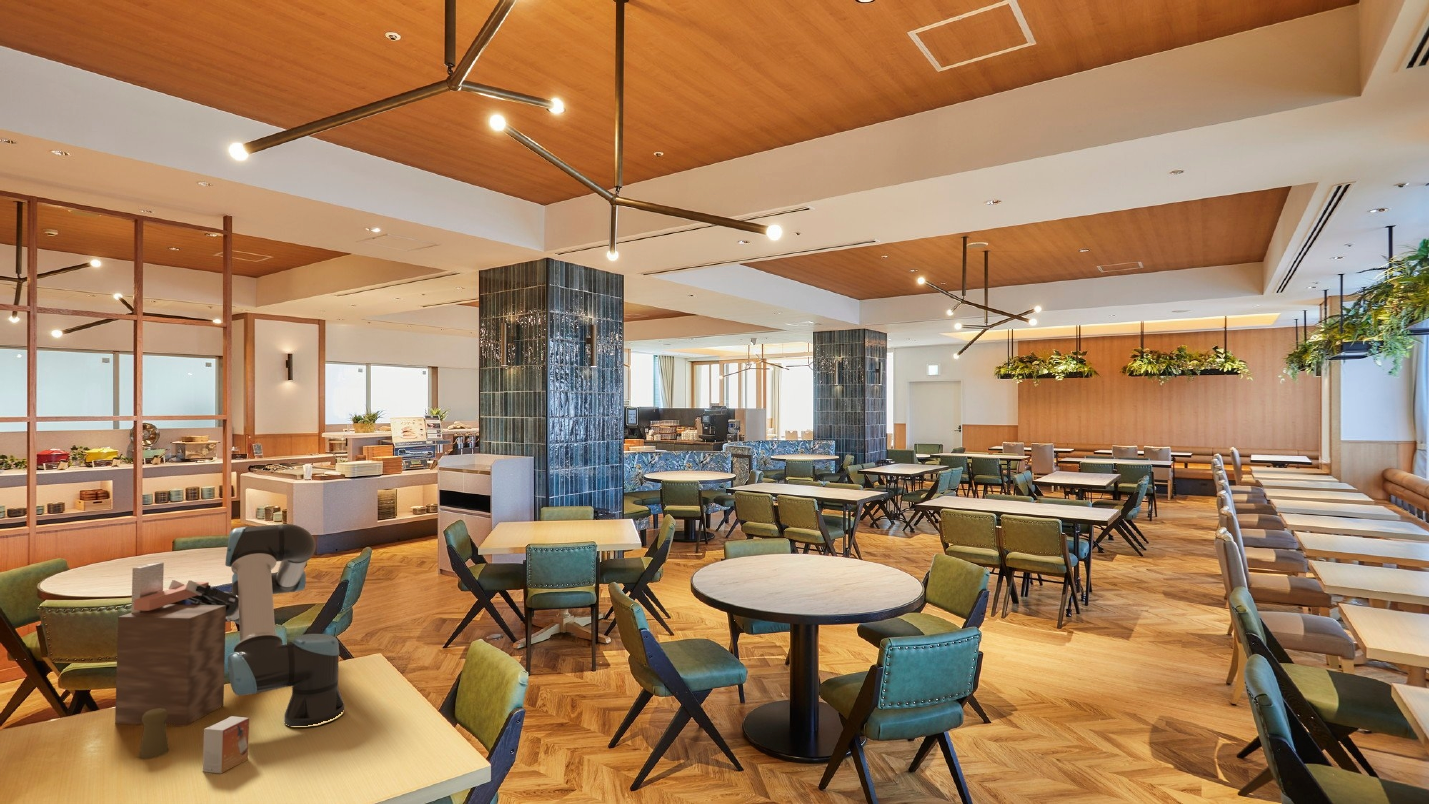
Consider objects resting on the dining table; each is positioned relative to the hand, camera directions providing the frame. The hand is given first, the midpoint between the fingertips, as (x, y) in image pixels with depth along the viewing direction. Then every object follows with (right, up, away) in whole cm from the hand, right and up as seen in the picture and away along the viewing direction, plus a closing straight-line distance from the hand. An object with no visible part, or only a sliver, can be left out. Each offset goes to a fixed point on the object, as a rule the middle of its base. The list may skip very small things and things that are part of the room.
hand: (179, 584), depth 214 cm
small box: (+41, -35, -39) cm, 66 cm away
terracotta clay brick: (0, -4, -2) cm, 5 cm away
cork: (+18, -35, -32) cm, 51 cm away
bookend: (-5, -6, -6) cm, 10 cm away
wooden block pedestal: (+4, -36, -9) cm, 37 cm away
